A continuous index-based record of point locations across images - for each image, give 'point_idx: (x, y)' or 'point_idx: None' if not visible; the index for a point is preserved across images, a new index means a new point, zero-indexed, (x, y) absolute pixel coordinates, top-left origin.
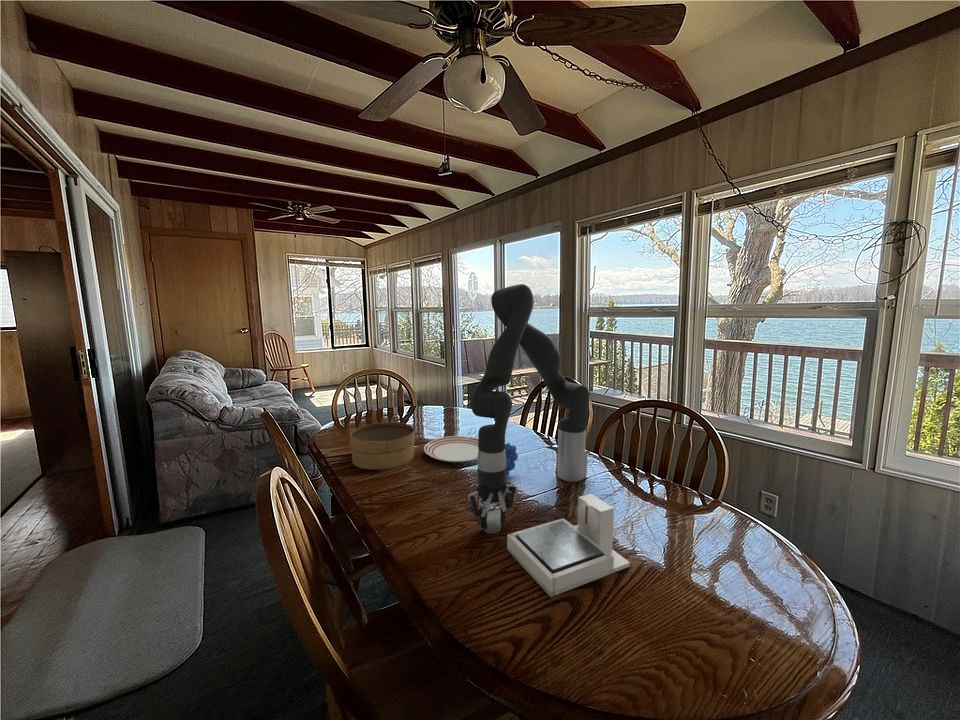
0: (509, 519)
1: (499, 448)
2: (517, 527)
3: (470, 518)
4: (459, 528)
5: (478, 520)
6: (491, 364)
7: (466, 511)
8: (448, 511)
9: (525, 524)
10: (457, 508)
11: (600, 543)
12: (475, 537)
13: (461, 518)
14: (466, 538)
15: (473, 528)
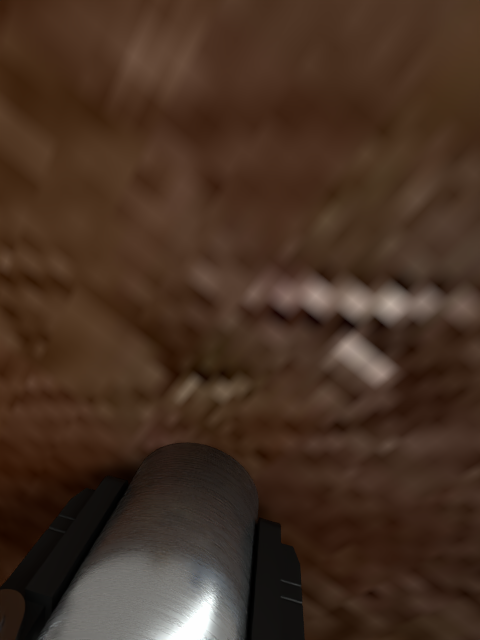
0: (385, 503)
1: None
2: (343, 588)
3: (138, 293)
4: (3, 353)
5: (45, 533)
6: None
7: (172, 156)
8: (11, 22)
9: (416, 603)
10: (122, 20)
11: None
12: (55, 490)
13: (72, 242)
14: (3, 464)
15: (89, 415)
